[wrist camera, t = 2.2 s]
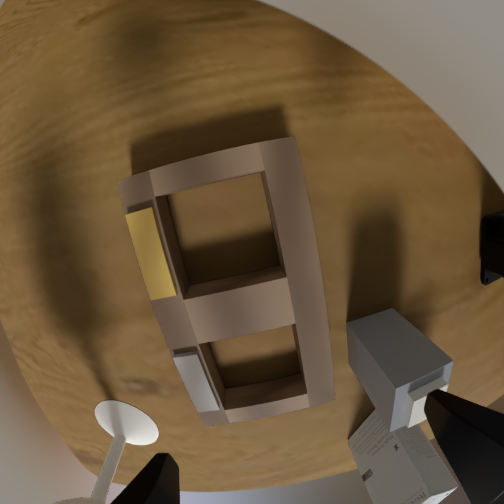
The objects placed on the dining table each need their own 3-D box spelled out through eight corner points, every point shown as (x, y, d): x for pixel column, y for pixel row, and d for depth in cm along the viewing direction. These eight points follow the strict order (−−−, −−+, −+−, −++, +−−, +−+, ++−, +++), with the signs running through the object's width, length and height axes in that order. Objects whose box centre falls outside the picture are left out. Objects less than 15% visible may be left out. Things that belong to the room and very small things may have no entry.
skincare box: (377, 402, 22) (432, 495, 10) (407, 404, 22) (462, 484, 10) (344, 442, 23) (379, 532, 11) (375, 443, 23) (413, 521, 12)
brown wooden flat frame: (286, 143, 16) (296, 134, 14) (326, 380, 20) (336, 403, 18) (132, 181, 16) (114, 180, 14) (206, 405, 20) (204, 429, 18)
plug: (392, 307, 19) (461, 367, 11) (391, 348, 20) (447, 413, 12) (346, 322, 19) (402, 397, 11) (348, 364, 20) (394, 440, 12)
